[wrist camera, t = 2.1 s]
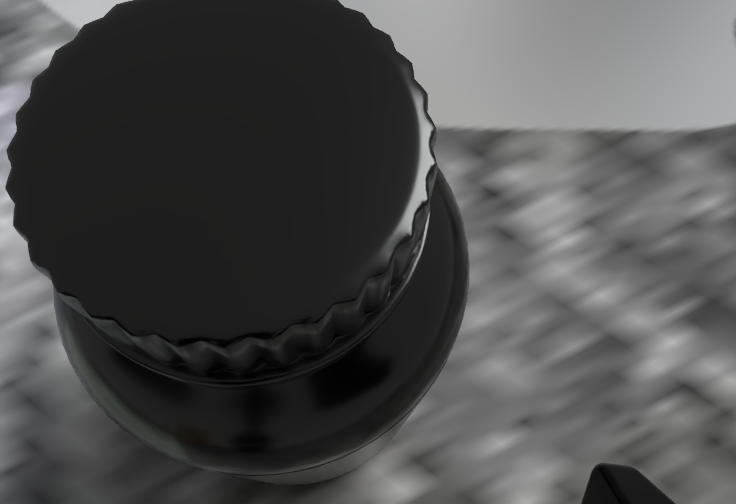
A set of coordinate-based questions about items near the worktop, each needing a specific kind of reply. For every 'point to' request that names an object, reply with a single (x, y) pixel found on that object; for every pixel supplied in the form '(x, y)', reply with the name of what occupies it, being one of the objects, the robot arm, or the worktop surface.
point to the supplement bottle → (243, 230)
